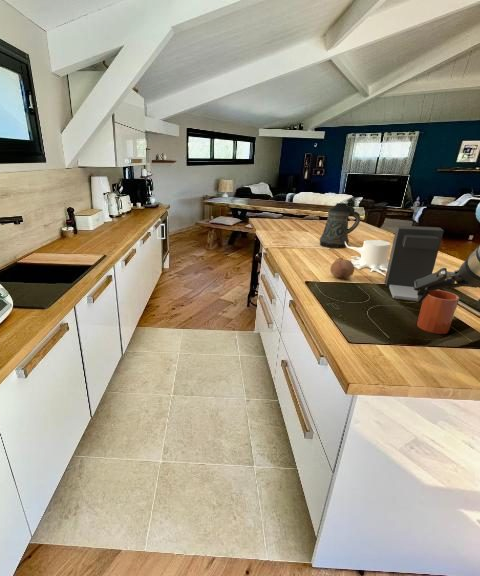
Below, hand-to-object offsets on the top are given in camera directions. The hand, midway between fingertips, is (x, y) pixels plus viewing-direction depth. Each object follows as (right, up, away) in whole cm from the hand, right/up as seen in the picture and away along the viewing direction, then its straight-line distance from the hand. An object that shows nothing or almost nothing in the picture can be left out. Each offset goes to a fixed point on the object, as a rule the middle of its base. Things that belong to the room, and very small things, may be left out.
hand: (448, 301), depth 87 cm
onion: (-5, +8, +52) cm, 53 cm away
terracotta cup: (+3, -8, +10) cm, 13 cm away
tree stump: (+18, +15, +69) cm, 73 cm away
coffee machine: (+13, +2, +36) cm, 38 cm away
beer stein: (+17, +30, +106) cm, 111 cm away
